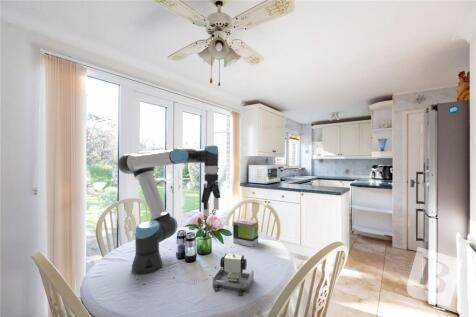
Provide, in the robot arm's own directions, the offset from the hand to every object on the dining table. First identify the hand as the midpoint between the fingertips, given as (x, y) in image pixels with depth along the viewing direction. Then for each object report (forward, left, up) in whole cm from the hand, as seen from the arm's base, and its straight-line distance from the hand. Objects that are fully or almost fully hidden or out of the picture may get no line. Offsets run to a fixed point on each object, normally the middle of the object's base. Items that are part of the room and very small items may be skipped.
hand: (211, 212), depth 119 cm
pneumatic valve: (+17, -13, -27) cm, 35 cm away
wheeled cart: (+17, -15, -29) cm, 37 cm away
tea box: (+10, +36, -29) cm, 47 cm away
